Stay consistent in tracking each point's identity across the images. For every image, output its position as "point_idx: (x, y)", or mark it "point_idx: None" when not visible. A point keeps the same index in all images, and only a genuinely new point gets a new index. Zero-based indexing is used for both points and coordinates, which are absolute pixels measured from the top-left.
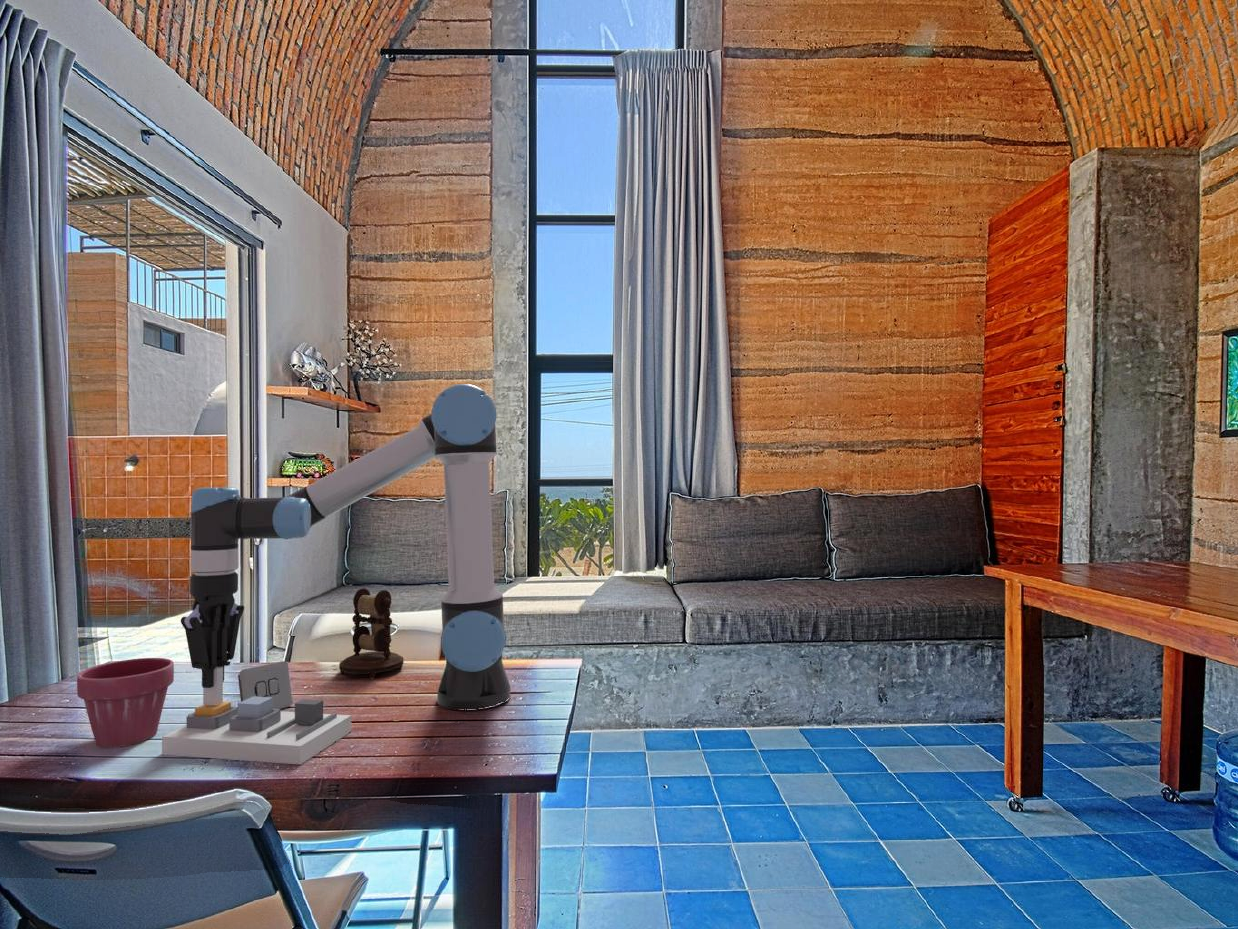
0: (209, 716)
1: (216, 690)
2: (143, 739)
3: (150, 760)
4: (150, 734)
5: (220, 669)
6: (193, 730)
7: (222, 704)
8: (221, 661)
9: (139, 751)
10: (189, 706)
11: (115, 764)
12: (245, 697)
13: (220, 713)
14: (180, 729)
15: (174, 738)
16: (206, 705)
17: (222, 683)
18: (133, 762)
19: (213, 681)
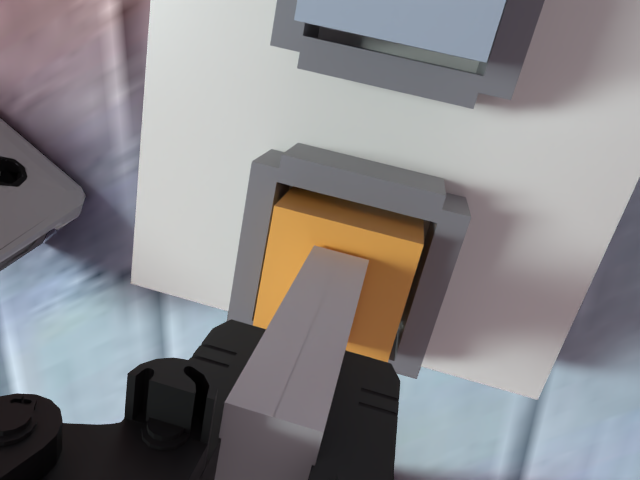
0: (436, 255)
1: (353, 310)
2: None
3: (583, 366)
4: None
5: (270, 402)
6: (463, 296)
7: (320, 241)
8: (199, 469)
9: (465, 442)
10: None
11: (600, 466)
12: (14, 239)
13: (377, 217)
14: (438, 361)
15: (562, 338)
16: None
17: (284, 308)
18: (592, 417)
19: (343, 377)
